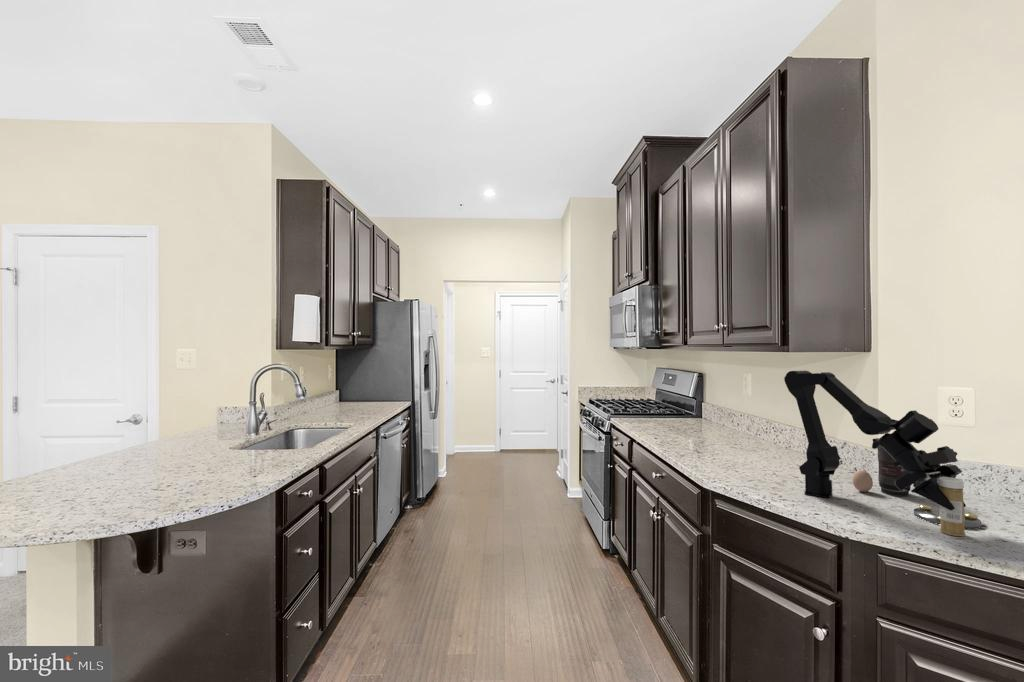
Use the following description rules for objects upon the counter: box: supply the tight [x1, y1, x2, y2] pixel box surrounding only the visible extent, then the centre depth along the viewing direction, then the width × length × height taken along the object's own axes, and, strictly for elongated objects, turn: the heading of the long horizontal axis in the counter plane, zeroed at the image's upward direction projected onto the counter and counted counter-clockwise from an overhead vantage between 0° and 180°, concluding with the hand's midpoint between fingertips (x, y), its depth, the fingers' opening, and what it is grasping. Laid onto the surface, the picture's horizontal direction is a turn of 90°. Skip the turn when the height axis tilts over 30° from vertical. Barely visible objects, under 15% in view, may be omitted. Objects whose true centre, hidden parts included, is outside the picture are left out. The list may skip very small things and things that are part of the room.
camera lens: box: [877, 447, 912, 497], centre depth 144 cm, size 8×8×15 cm
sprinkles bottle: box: [938, 477, 966, 537], centre depth 112 cm, size 5×5×14 cm
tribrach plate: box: [913, 504, 983, 529], centre depth 121 cm, size 13×13×2 cm
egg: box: [852, 469, 874, 493], centre depth 145 cm, size 5×5×7 cm
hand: (958, 508), depth 110 cm, fingers closed on sprinkles bottle, 4 cm apart
